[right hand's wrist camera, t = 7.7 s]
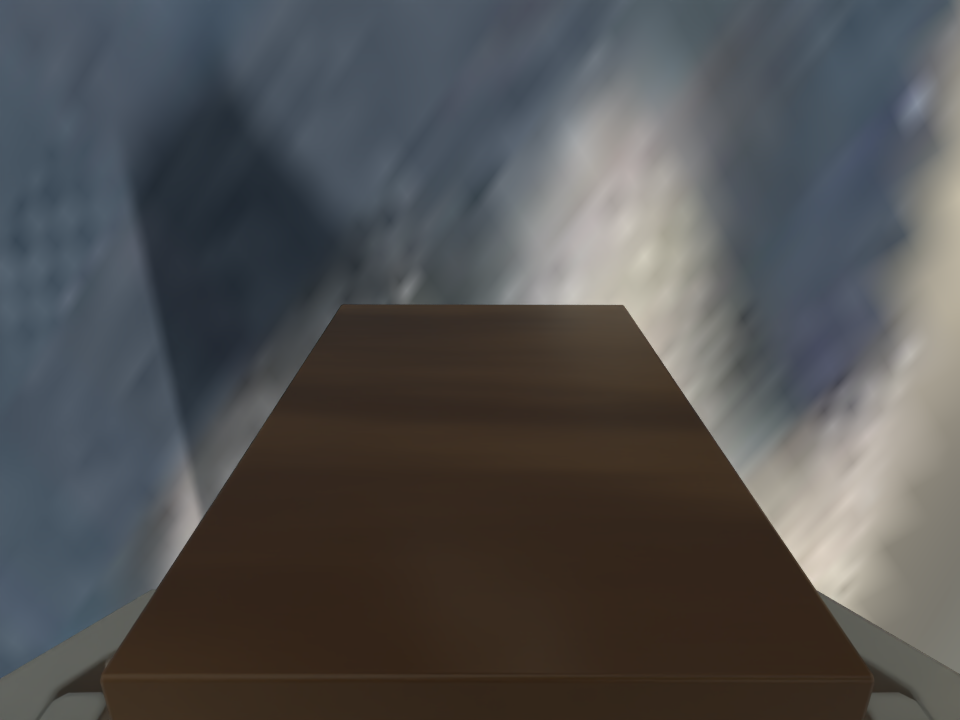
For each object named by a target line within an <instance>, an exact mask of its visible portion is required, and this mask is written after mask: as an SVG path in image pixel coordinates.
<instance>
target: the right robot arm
mask: <svg viewBox="0 0 960 720" xmlns="http://www.w3.org/2000/svg"><path fill="white" fill-rule="evenodd" d="M155 591H156V590H150V591H149V592H147V593H145V594H144V595H142V596H140V597H139V598H137V599H135V600H133V601H132V602H130V603H128V604H127V605H125V606H123V607H122V608H120V609H118V610H116V611H115V612H113V613H111V614H110V615H108V616H106V617H105V618H103V619H101V620H99V621H98V622H96V623H94V624H93V625H91V626H89V627H88V628H86V629H84V630H82V631H81V632H79V633H77V634H76V635H74V636H72V637H71V638H69V639H67V640H66V641H64V642H62V643H60V644H59V645H57V646H55V647H54V648H52V649H50V650H49V651H47V652H45V653H43V654H42V655H40V656H38V657H37V658H35V659H33V660H32V661H30V662H28V663H26V664H25V665H23V666H21V667H20V668H18V669H16V670H15V671H13V672H11V673H9V674H8V675H6V676H4V677H3V678H1V679H0V720H110V717H109V713H108V710H107V706H106V702H105V698H104V695H103V691H102V687H101V683H100V679H101V674H102V672H103V671H104V669H105V668H106V666H107V665H108V663H109V661H110V660H111V658H112V657H113V655H114V654H115V652H116V651H117V649H118V648H119V646H120V645H121V643H122V642H123V640H124V638H125V637H126V635H127V634H128V632H129V631H130V629H131V628H132V626H133V625H134V623H135V622H136V620H137V618H138V617H139V615H140V614H141V612H142V611H143V609H144V608H145V606H146V605H147V603H148V602H149V600H150V598H151V597H152V595H153V594H154V592H155ZM816 591H817V590H816ZM817 592H818V594H819V595H820V597H821V598H822V600H823V601H824V603H825V604H826V606H827V607H828V609H829V610H830V612H831V613H832V615H833V616H834V618H835V619H836V620H837V622H838V623H839V625H840V626H841V628H842V629H843V631H844V632H845V634H846V635H847V637H848V638H849V640H850V641H851V643H852V644H853V646H854V647H855V649H856V650H857V652H858V653H859V655H860V656H861V657H862V659H863V660H864V662H865V663H866V665H867V666H868V668H869V669H870V671H871V672H872V674H873V677H874V682H875V683H874V687H873V690H872V694H871V697H870V701H869V704H868V708H867V711H866V715H865V719H864V720H960V674H959V673H957V672H955V671H953V670H952V669H950V668H948V667H947V666H945V665H943V664H942V663H940V662H938V661H936V660H935V659H933V658H931V657H930V656H928V655H926V654H924V653H923V652H921V651H919V650H918V649H916V648H914V647H912V646H911V645H909V644H907V643H906V642H904V641H902V640H901V639H899V638H897V637H895V636H894V635H892V634H890V633H889V632H887V631H885V630H883V629H882V628H880V627H878V626H877V625H875V624H873V623H871V622H870V621H868V620H866V619H865V618H863V617H861V616H860V615H858V614H856V613H854V612H853V611H851V610H849V609H848V608H846V607H844V606H842V605H841V604H839V603H837V602H836V601H834V600H832V599H830V598H829V597H827V596H825V595H824V594H822V593H820V592H819V591H817Z"/></svg>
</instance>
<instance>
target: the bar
mask: <svg viewBox="0 0 960 720" xmlns="http://www.w3.org/2000/svg"><path fill="white" fill-rule="evenodd" d="M100 683H101V687H102V691H103V695H104V698H105V702H106V706H107V710H108V713H109V717H110V720H864V719H865V715H866V711H867V708H868V704H869V701H870V697H871V694H872V690H873V687H874V683H875V682H874V677H873V674H872V672H871V671H870V669H869V668H868V666H867V665H866V663H865V662H864V660H863V659H862V657H861V656H860V655H859V653H858V652H857V650H856V649H855V647H854V646H853V644H852V643H851V641H850V640H849V638H848V637H847V635H846V634H845V632H844V631H843V629H842V628H841V626H840V625H839V623H838V622H837V620H836V619H835V618H834V616H833V615H832V613H831V612H830V610H829V609H828V607H827V606H826V604H825V603H824V601H823V600H822V598H821V597H820V595H819V594H818V592H817V591H816V589H815V588H814V586H813V585H812V583H811V582H810V580H809V579H808V578H807V576H806V575H805V573H804V572H803V570H802V569H801V567H800V566H799V564H798V563H797V561H796V560H795V558H794V557H793V555H792V554H791V552H790V551H789V549H788V548H787V546H786V545H785V543H784V542H783V541H782V539H781V538H780V536H779V535H778V533H777V532H776V530H775V529H774V527H773V526H772V524H771V523H770V521H769V520H768V518H767V517H766V515H765V514H764V512H763V511H762V509H761V508H760V506H759V505H758V503H757V502H756V501H755V499H754V498H753V496H752V495H751V493H750V492H749V490H748V489H747V487H746V486H745V484H744V483H743V481H742V480H741V478H740V477H739V475H738V474H737V472H736V471H735V469H734V468H733V466H732V465H731V464H730V462H729V461H728V459H727V458H726V456H725V455H724V453H723V452H722V450H721V449H720V447H719V446H718V444H717V443H716V441H715V440H714V438H713V437H712V435H711V434H710V432H709V431H708V429H707V428H706V426H705V425H704V424H703V422H702V421H701V419H700V418H699V416H698V415H697V413H696V412H695V410H694V409H693V407H692V406H691V404H690V403H689V401H688V400H687V398H686V397H685V395H684V394H683V392H682V391H681V389H680V388H679V387H678V385H677V384H676V382H675V381H674V379H673V378H672V376H671V375H670V373H669V372H668V370H667V369H666V367H665V366H664V364H663V363H662V361H661V360H660V358H659V357H658V355H657V354H656V352H655V351H654V349H653V348H652V347H651V345H650V344H649V342H648V341H647V339H646V338H645V336H644V335H643V333H642V332H641V330H640V329H639V327H638V326H637V324H636V323H635V321H634V320H633V318H632V317H631V315H630V314H629V312H628V311H627V310H626V308H625V307H624V306H623V305H341V306H340V308H339V309H338V311H337V313H336V314H335V316H334V317H333V319H332V320H331V322H330V323H329V325H328V326H327V328H326V329H325V331H324V333H323V334H322V336H321V337H320V339H319V340H318V342H317V343H316V345H315V346H314V348H313V349H312V351H311V352H310V354H309V356H308V357H307V359H306V360H305V362H304V363H303V365H302V366H301V368H300V369H299V371H298V372H297V374H296V376H295V377H294V379H293V380H292V382H291V383H290V385H289V386H288V388H287V389H286V391H285V392H284V394H283V396H282V397H281V399H280V400H279V402H278V403H277V405H276V406H275V408H274V409H273V411H272V412H271V414H270V416H269V417H268V419H267V420H266V422H265V423H264V425H263V426H262V428H261V429H260V431H259V432H258V434H257V436H256V437H255V439H254V440H253V442H252V443H251V445H250V446H249V448H248V449H247V451H246V452H245V454H244V455H243V457H242V459H241V460H240V462H239V463H238V465H237V466H236V468H235V469H234V471H233V472H232V474H231V475H230V477H229V479H228V480H227V482H226V483H225V485H224V486H223V488H222V489H221V491H220V492H219V494H218V495H217V497H216V499H215V500H214V502H213V503H212V505H211V506H210V508H209V509H208V511H207V512H206V514H205V515H204V517H203V519H202V520H201V522H200V523H199V525H198V526H197V528H196V529H195V531H194V532H193V534H192V535H191V537H190V539H189V540H188V542H187V543H186V545H185V546H184V548H183V549H182V551H181V552H180V554H179V555H178V557H177V558H176V560H175V562H174V563H173V565H172V566H171V568H170V569H169V571H168V572H167V574H166V575H165V577H164V578H163V580H162V582H161V583H160V585H159V586H158V588H157V589H156V591H155V592H154V594H153V595H152V597H151V598H150V600H149V602H148V603H147V605H146V606H145V608H144V609H143V611H142V612H141V614H140V615H139V617H138V618H137V620H136V622H135V623H134V625H133V626H132V628H131V629H130V631H129V632H128V634H127V635H126V637H125V638H124V640H123V642H122V643H121V645H120V646H119V648H118V649H117V651H116V652H115V654H114V655H113V657H112V658H111V660H110V661H109V663H108V665H107V666H106V668H105V669H104V671H103V672H102V674H101V679H100Z"/></svg>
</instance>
